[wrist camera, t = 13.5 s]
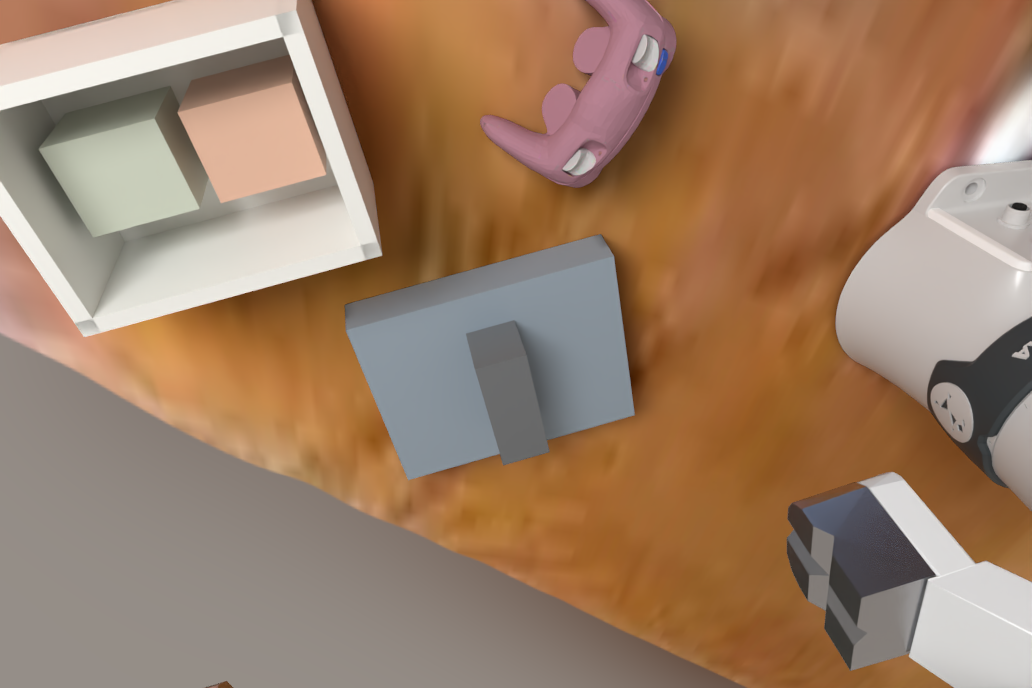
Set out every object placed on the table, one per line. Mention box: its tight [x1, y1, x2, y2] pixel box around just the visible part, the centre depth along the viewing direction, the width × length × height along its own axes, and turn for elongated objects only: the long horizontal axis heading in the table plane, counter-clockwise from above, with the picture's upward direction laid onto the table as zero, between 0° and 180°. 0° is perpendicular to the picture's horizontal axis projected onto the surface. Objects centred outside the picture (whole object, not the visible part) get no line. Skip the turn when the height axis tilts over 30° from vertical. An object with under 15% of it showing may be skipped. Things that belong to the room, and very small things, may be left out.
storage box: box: [0, 0, 382, 337], centre depth 35 cm, size 14×11×8 cm
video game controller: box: [480, 0, 676, 188], centre depth 38 cm, size 10×5×7 cm, turn 151°
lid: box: [345, 234, 635, 480], centre depth 48 cm, size 16×13×6 cm
